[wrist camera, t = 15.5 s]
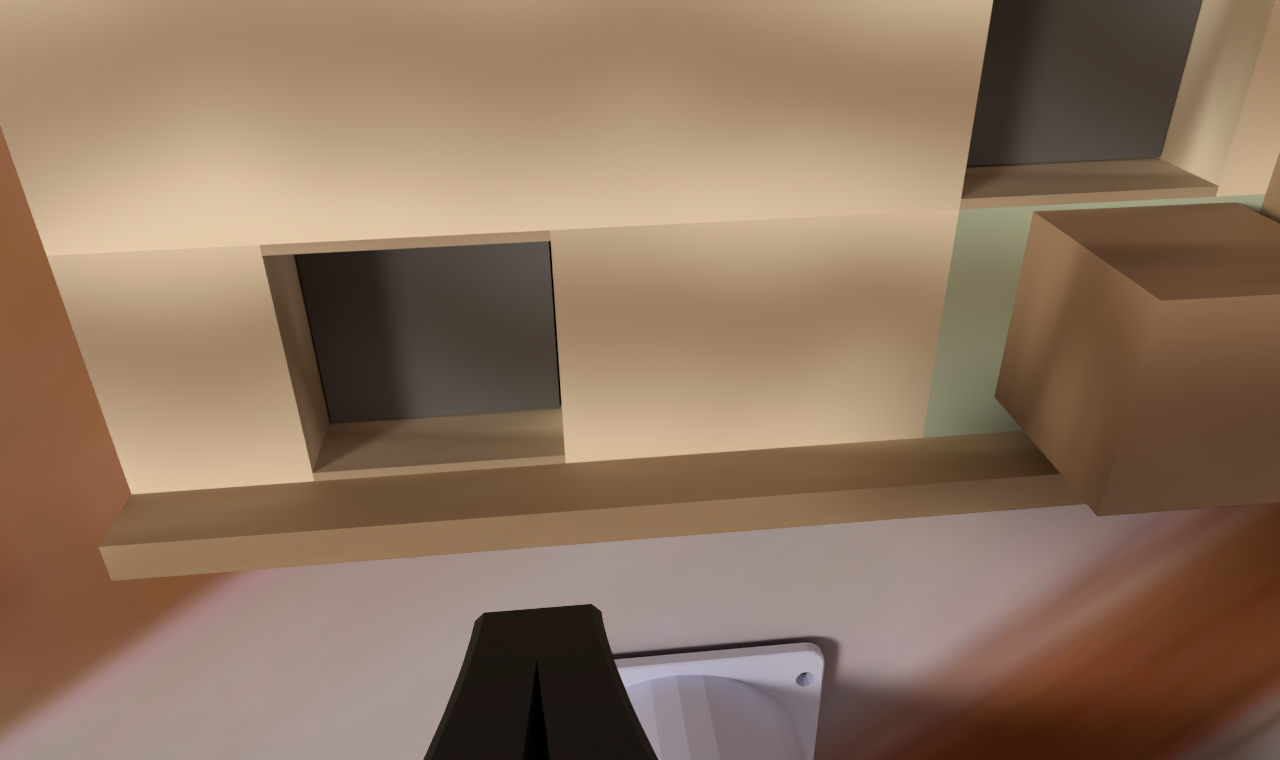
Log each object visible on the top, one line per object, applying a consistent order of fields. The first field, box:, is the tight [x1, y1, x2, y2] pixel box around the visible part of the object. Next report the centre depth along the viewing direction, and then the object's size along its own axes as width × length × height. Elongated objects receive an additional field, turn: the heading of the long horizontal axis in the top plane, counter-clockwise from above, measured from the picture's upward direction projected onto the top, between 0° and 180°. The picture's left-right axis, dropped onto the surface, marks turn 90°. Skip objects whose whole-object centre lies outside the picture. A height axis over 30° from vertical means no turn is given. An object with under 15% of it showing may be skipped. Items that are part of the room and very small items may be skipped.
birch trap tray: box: [0, 0, 1280, 581], centre depth 17 cm, size 11×23×4 cm, turn 91°
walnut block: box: [994, 202, 1280, 516], centre depth 17 cm, size 4×4×4 cm
